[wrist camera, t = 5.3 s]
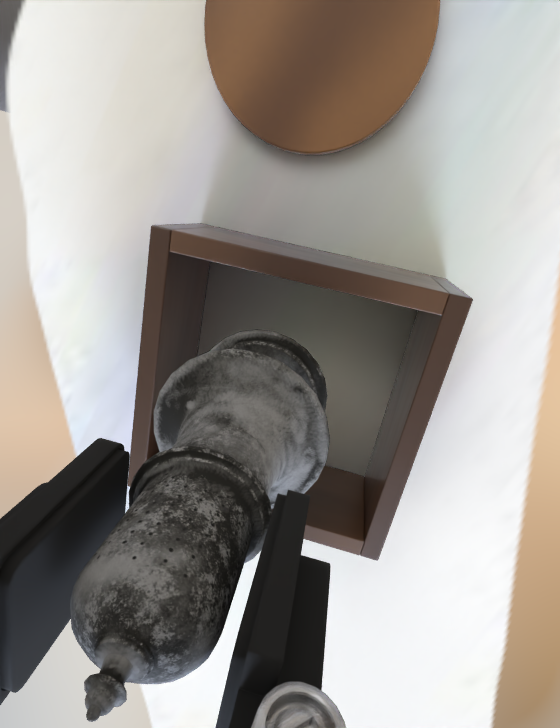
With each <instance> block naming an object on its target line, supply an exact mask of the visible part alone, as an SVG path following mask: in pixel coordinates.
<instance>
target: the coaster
mask: <svg viewBox="0 0 560 728" xmlns="http://www.w3.org/2000/svg"><path fill="white" fill-rule="evenodd" d="M439 11H440V0H206V6H205V23H204V24H205V43H206V49H207V56H208V60H209V64H210V68H211V72H212V75H213V78H214V80H215V83H216V85H217V88H218V90H219V92H220V94H221V96H222V98H223V99H224V101H225V103H226V104H227V106H228V107H229V109H230V110H231V112H232V113H233V115H234V116H235V117H236V118H237V119H238V120H239V121H240V122H241V123H242V125H243V126H245V127H246V128H247V129H248V130H249V131H250V132H252V133H253V134H254V135H255V136H257V137H258V138H260V139H261V140H263V141H265V142H266V143H268V144H270V145H272V146H274V147H276V148H279V149H281V150H284V151H288V152H292V153H297V154H304V155H322V154H328V153H334V152H338V151H341V150H344V149H347V148H350V147H352V146H354V145H356V144H359V143H361V142H363V141H364V140H366V139H368V138H369V137H371V136H372V135H374V134H375V133H377V132H378V131H379V130H380V129H382V128H383V127H384V126H385V125H386V124H388V123H389V122H390V121H391V120H392V118H393V117H394V116H395V115H396V114H397V113H398V112H399V111H400V110H401V109H402V107H403V106H404V105H405V103H406V102H407V101H408V99H409V98H410V96H411V95H412V93H413V91H414V90H415V88H416V86H417V85H418V83H419V81H420V79H421V77H422V74H423V72H424V70H425V68H426V66H427V63H428V61H429V58H430V55H431V52H432V49H433V46H434V42H435V37H436V32H437V28H438V21H439Z"/></svg>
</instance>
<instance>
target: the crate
mask: <svg viewBox="0 0 560 728" xmlns="http://www.w3.org/2000/svg"><path fill="white" fill-rule="evenodd" d="M210 261H211V262H216V263H220V264H224V265H228V266H233V267H237V268H241V269H245V270H250V271H254V272H258V273H262V274H267V275H271V276H275V277H279V278H284V279H288V280H292V281H296V282H301V283H305V284H309V285H313V286H318V287H322V288H326V289H330V290H335V291H339V292H343V293H347V294H352V295H356V296H360V297H364V298H369V299H373V300H377V301H381V302H386V303H390V304H394V305H398V306H403V307H407V308H411V309H415V310H418V312H417V315H416V318H415V321H414V325H413V328H412V331H411V334H410V337H409V340H408V343H407V346H406V349H405V353H404V356H403V359H402V362H401V365H400V368H399V371H398V374H397V377H396V381H395V384H394V387H393V390H392V393H391V396H390V399H389V402H388V405H387V409H386V412H385V415H384V418H383V421H382V424H381V427H380V430H379V433H378V437H377V440H376V443H375V446H374V449H373V452H372V455H371V458H370V461H369V465H368V468H367V471H366V474H365V477H364V476H361V475H358V474H354V473H351V472H347V471H343V470H340V469H336V468H333V467H329V466H326V465H324V467H323V469H322V471H321V473H320V475H319V478H318V480H317V481H316V482H315V483H314V484H313V485H312V486H311V487H310V488H309V489H308V490H307V491H306V492H305V493H304V494H306V495H310V501H309V507H308V513H307V519H306V525H305V531H304V538H303V539H306V540H310V541H313V542H316V543H320V544H323V545H326V546H330V547H333V548H336V549H340V550H343V551H346V552H350V553H353V554H356V555H361V556H363V557H367V558H370V559H373V560H378V559H379V556H380V553H381V551H382V548H383V545H384V543H385V540H386V537H387V534H388V532H389V529H390V526H391V523H392V521H393V518H394V515H395V512H396V510H397V507H398V504H399V501H400V499H401V496H402V493H403V490H404V488H405V485H406V482H407V479H408V477H409V474H410V471H411V468H412V466H413V463H414V460H415V457H416V455H417V452H418V449H419V446H420V444H421V441H422V438H423V436H424V433H425V430H426V427H427V425H428V422H429V419H430V416H431V414H432V411H433V408H434V405H435V403H436V400H437V397H438V394H439V392H440V389H441V386H442V383H443V381H444V378H445V375H446V372H447V370H448V367H449V364H450V361H451V359H452V356H453V353H454V350H455V348H456V345H457V342H458V339H459V337H460V334H461V331H462V329H463V326H464V323H465V320H466V318H467V315H468V312H469V309H470V307H471V304H472V301H473V299H472V298H471V297H469V296H468V295H467V294H466V293H464V292H463V291H462V290H460V289H459V288H458V287H456V286H455V285H454V284H452V283H451V282H450V281H448V280H447V279H444V278H440V277H436V276H431V275H430V276H429V275H427V274H422V273H418V272H414V271H409V270H405V269H400V268H396V267H391V266H387V265H383V264H378V263H374V262H369V261H365V260H360V259H356V258H352V257H347V256H343V255H338V254H334V253H329V252H325V251H321V250H316V249H312V248H307V247H303V246H298V245H294V244H290V243H285V242H281V241H276V240H272V239H267V238H263V237H259V236H254V235H250V234H245V233H241V232H237V231H232V230H228V229H223V228H219V227H214V226H210V225H205V224H201V223H197V224H170V225H152V226H151V234H150V245H149V256H148V267H147V278H146V289H145V300H144V311H143V322H142V333H141V344H140V355H139V366H138V377H137V388H136V399H135V410H134V420H133V431H132V442H131V453H130V464H129V475H128V486H130V487H131V483H132V480H133V477H134V476H135V474H136V473H137V471H138V470H139V469H140V467H141V466H142V465H143V463H144V462H146V461H147V460H148V459H150V458H151V457H153V456H154V455H155V454H157V453H159V452H160V451H159V448H158V444H157V441H156V437H155V434H154V409H155V406H156V402H157V399H158V395H159V392H160V390H161V389H162V387H163V386H164V384H165V383H166V381H167V380H168V378H169V377H170V375H171V374H172V373H173V372H174V371H176V370H177V369H178V368H179V367H181V366H182V365H183V364H184V363H186V362H187V361H188V360H190V359H192V358H195V357H197V351H198V344H199V337H200V330H201V323H202V316H203V309H204V302H205V295H206V288H207V281H208V274H209V267H210ZM272 511H273V509H272Z"/></svg>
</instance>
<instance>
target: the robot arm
mask: <svg viewBox="0 0 560 728" xmlns="http://www.w3.org/2000/svg"><path fill="white" fill-rule="evenodd" d="M129 459H130V455H129V452H126V451H124V446H123V445H122V444H120V443H117V442H113V441H110V440H106V439H102V438H99V439H97V440H96V441H94V442H93V443H92V444H91V445H90V446H89V447H88V448H87V449H85V450H84V451H83V452H82V453H81V454H80V455H79V456H77V457H76V458H75V459H74V460H73V461H72V462H71V463H69V464H68V465H67V466H66V467H65V468H64V469H63V470H62V471H60V472H59V473H58V474H57V475H56V476H55V477H54V478H53V479H52V480H50V481H49V482H48V483H43V484H41V485H40V486H38V487H37V488H36V489H34V490H33V491H32V492H31V493H30V494H29V495H27V496H26V497H25V498H24V499H23V500H22V501H21V502H19V503H18V504H17V505H16V506H15V507H14V508H12V509H11V510H10V511H9V512H8V513H7V514H6V515H4V516H3V517H2V518H1V519H0V705H1V703H2V702H3V701H4V699H5V698H6V697H7V695H8V694H9V692H10V691H12V692H15V693H16V692H18V691H19V690H20V689H21V688H22V687H23V686H24V684H25V683H26V682H27V680H28V679H29V677H30V676H31V674H32V673H33V671H34V670H35V669H36V667H37V666H38V664H39V663H40V662H41V660H42V659H43V657H44V656H45V654H46V653H47V652H48V650H49V649H50V647H51V646H52V644H53V643H54V641H55V640H56V639H57V637H58V636H59V634H60V633H61V632H62V630H63V629H64V627H65V626H66V625H67V623H68V622H69V620H70V619H71V611H70V599H71V595H72V591H73V588H74V585H75V583H76V581H77V579H78V576H79V574H80V572H81V571H82V570H83V568H84V567H85V566H86V564H87V563H88V562H89V560H90V559H91V558H92V556H93V555H94V554H95V552H96V551H97V550H98V548H99V547H100V546H101V544H102V543H103V542H104V541H105V539H106V538H107V537H108V535H109V534H110V533H111V531H112V530H113V529H114V527H115V526H116V525H117V524H118V522H119V521H120V520H121V518H122V517H123V516H124V514H125V506H126V494H127V482H128V471H129ZM309 501H310V495H306V494H303V493H299V492H295V491H292V490H288V492H287V496H286V495H282V494H279V493H278V494H277V497H276V501H275V504H274V508H273V511H272V515H271V519H270V522H269V526H268V529H267V533H266V536H265V540H264V543H263V547H262V550H261V554H260V558H259V561H258V565H257V568H256V572H255V575H254V579H253V582H252V586H251V589H250V593H249V597H248V600H247V604H246V607H245V611H244V614H243V618H242V621H241V625H240V629H239V632H238V636H237V640H236V643H235V647H234V651H233V655H232V659H231V664H230V668H229V672H228V677H227V681H226V685H225V690H224V694H223V698H222V702H221V707H220V711H219V715H218V720H217V724H216V728H346V726H345V722H344V720H343V718H342V716H341V714H340V712H339V710H338V708H337V706H336V705H335V704H334V703H333V702H332V700H331V699H330V698H329V697H328V696H327V695H326V694H325V693H324V692H322V691H321V688H322V675H323V662H324V648H325V635H326V621H327V608H328V595H329V581H330V563H326V562H323V561H320V560H316V559H313V558H309V557H306V556H302V555H301V550H302V544H303V538H304V531H305V525H306V519H307V513H308V507H309Z"/></svg>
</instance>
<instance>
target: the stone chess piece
mask: <svg viewBox="0 0 560 728" xmlns="http://www.w3.org/2000/svg"><path fill="white" fill-rule="evenodd" d="M326 400H327V391H326V384H325V378H324V376H323V374H322V372H321V369H320V367H319V365H318V363H317V362H316V360H315V359H314V358H313V357H312V356H311V354H310V353H309V352H308V351H307V349H305V348H304V347H303V346H301V345H300V344H299V343H297V342H296V341H294V340H293V339H292V338H289V337H287V336H284V335H282V334H279V333H277V332H273V331H265V330H258V329H257V330H249V331H241V332H238V333H236V334H233V335H231V336H229V337H226V338H224V339H223V340H222V341H221V342H219V343H218V344H217V345H216V346H214V347H213V348H212V349H211V350H210V351H209V352H207V353H204V354H202V355H199V356H197V357H195V358H192V359H190V360H188V361H187V362H186V363H184V364H183V365H182V366H181V367H179V368H178V369H177V370H176V371H174V372H173V373H172V374H171V375H170V377H169V378H168V380H167V381H166V383H165V384H164V386H163V387H162V389H161V390H160V392H159V395H158V399H157V402H156V406H155V409H154V434H155V437H156V441H157V444H158V448H159V451H160V452H159V453H157V454H155V455H154V456H153V457H151V458H150V459H148V460H147V461H146V462H144V463H143V465H142V466H141V467H140V469H139V470H138V471H137V473H136V474H135V476H134V477H133V480H132V483H131V487H130V490H129V509H128V510H127V512H126V513H125V514H124V516H123V517H122V518H121V520H120V521H119V522H118V524H117V525H116V526H115V527H114V529H113V530H112V531H111V533H110V534H109V535H108V537H107V538H106V539H105V541H104V542H103V543H102V544H101V546H100V547H99V548H98V550H97V551H96V552H95V554H94V555H93V556H92V558H91V559H90V560H89V562H88V563H87V564H86V566H85V567H84V568H83V570H82V571H81V572H80V574H79V576H78V579H77V581H76V583H75V585H74V588H73V591H72V595H71V599H70V611H71V624H72V630H73V633H74V635H75V637H76V640H77V642H78V643H79V645H80V646H81V648H82V649H83V650H84V652H85V653H86V655H87V656H88V657H89V659H90V660H91V661H92V662H93V663H94V664H95V665H96V666H97V667H99V668H100V669H101V670H100V673H98V674H94V675H90V676H89V677H88V678H87V679H86V680H85V682H84V686H85V691H86V693H87V695H86V698H85V705H86V708H87V709H88V711H87V714H86V717H87V720H88V721H91V722H93V721H96V720H97V719H98V718H99V716H103V715H106V714H108V713H109V712H110V711H111V710H112V709H113V707H118V706H121V705H122V704H123V703H124V702H125V701H126V700H127V699H126V690H125V687H124V683H125V682H131V683H138V684H161V683H167V682H173V681H175V680H177V679H180V678H182V677H184V676H186V675H187V674H189V673H191V672H192V671H194V670H195V669H197V668H198V667H199V666H200V665H201V664H202V663H204V662H205V661H206V660H207V659H208V658H209V656H210V654H211V653H212V651H213V649H214V647H215V646H216V644H217V642H218V640H219V638H220V636H221V634H222V631H223V628H224V625H225V622H226V619H227V616H228V612H229V609H230V606H231V603H232V600H233V597H234V594H235V590H236V587H237V584H238V581H239V578H240V575H241V572H242V568H243V565H244V563H246V562H248V561H250V560H251V559H253V558H254V557H255V556H256V555H257V554H258V553H259V552H260V551H261V550H262V547H263V543H264V540H265V536H266V533H267V529H268V526H269V522H270V519H271V515H272V509H273V508H274V504H275V501H276V497H277V494H278V493H279V494H282V495H286V496H287V492H288V490H292V491H295V492H299V493H303V494H304V493H305V492H306V491H307V490H308V489H309V488H310V487H311V486H312V485H313V484H314V483H315V482H316V481H317V480H318V478H319V475H320V473H321V471H322V469H323V467H324V465H325V463H326V461H327V454H328V448H329V441H330V437H329V430H328V423H327V417H326V415H325V407H326Z"/></svg>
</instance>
